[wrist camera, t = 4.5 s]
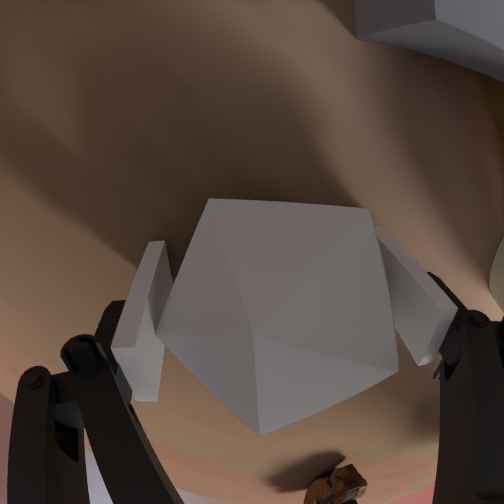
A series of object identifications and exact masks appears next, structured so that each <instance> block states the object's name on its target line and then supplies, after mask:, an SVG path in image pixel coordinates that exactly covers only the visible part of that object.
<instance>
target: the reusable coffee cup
mask: <svg viewBox="0 0 504 504" xmlns="http://www.w3.org/2000/svg"><path fill="white" fill-rule="evenodd" d="M489 288H490V293H491V295H492V297H493V298H494V299H495V301H496V302H497V304H498V305H499V307H500V308H501V310H502V311H503V312H504V237H503V239H502V241H501V243H500V245H499V247H498V250H497V252H496V255H495V257H494V261H493V264H492V267H491V272H490V277H489Z"/></svg>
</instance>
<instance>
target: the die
mask: <svg viewBox="0 0 504 504" xmlns="http://www.w3.org/2000/svg"><path fill="white" fill-rule="evenodd" d="M155 335H156V336H157V338H158V339H159V340H160V341H161V342H162V343H163V344H164V345H165V346H166V347H167V348H168V350H169V351H170V352H171V353H172V354H173V355H174V356H175V357H176V358H177V359H178V360H179V361H180V362H181V363H182V364H183V365H184V366H185V367H186V368H187V369H188V370H189V371H190V372H191V373H192V374H193V376H194V377H195V378H196V379H198V380H199V381H200V382H201V383H202V384H203V385H204V386H205V387H206V388H207V389H208V390H209V391H210V392H211V393H212V394H213V395H214V396H215V397H216V398H217V399H218V400H219V401H220V402H221V403H222V404H224V405H225V406H226V407H227V408H228V409H229V410H230V411H231V412H232V413H233V414H235V415H236V416H237V417H238V418H239V419H240V420H241V421H242V422H244V423H245V424H246V425H247V426H248V427H249V428H250V429H252V430H253V431H254V432H255V433H256V434H258V435H259V436H261V435H264V434H267V433H270V432H272V431H275V430H278V429H280V428H283V427H285V426H288V425H291V424H293V423H295V422H298V421H300V420H303V419H305V418H307V417H310V416H312V415H314V414H317V413H319V412H321V411H323V410H325V409H328V408H330V407H332V406H334V405H336V404H338V403H340V402H342V401H344V400H347V399H349V398H351V397H353V396H354V395H356V394H358V393H360V392H362V391H364V390H366V389H368V388H370V387H372V386H374V385H375V384H377V383H379V382H381V381H383V380H384V379H386V378H388V377H390V376H391V375H393V374H395V373H397V372H398V371H399V364H398V354H397V344H396V335H395V327H394V319H393V312H392V305H391V298H390V292H389V286H388V280H387V276H386V271H385V267H384V263H383V259H382V255H381V251H380V247H379V243H378V239H377V235H376V231H375V228H374V224H373V221H372V217H371V214H370V210H369V209H367V208H356V207H345V206H333V205H321V204H307V203H293V202H277V201H259V200H238V199H213V198H209V200H208V202H207V204H206V206H205V209H204V211H203V213H202V216H201V218H200V221H199V223H198V225H197V228H196V230H195V232H194V235H193V237H192V240H191V242H190V245H189V247H188V250H187V252H186V255H185V257H184V260H183V262H182V265H181V267H180V270H179V272H178V275H177V277H176V280H175V282H174V285H173V288H172V290H171V293H170V296H169V298H168V301H167V303H166V306H165V309H164V312H163V314H162V317H161V320H160V322H159V325H158V328H157V331H156V334H155Z"/></svg>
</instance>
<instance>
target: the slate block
mask: <svg viewBox="0 0 504 504" xmlns="http://www.w3.org/2000/svg"><path fill="white" fill-rule="evenodd" d="M354 13H355V33H356V39H361V40H367V41H372V42H378V43H383V44H387V45H392V46H397V47H401V48H405V49H409V50H413V51H417V52H420V53H424V54H428V55H431V56H434V57H438V58H441V59H444V60H447V61H450V62H453V63H456V64H459V65H462V66H465V67H467V68H470V69H473V70H475V71H478V72H480V73H483V74H485V75H488V76H490V77H493V78H495V79H497V80H500V81H502V82H504V0H354Z"/></svg>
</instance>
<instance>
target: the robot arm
mask: <svg viewBox="0 0 504 504" xmlns="http://www.w3.org/2000/svg"><path fill="white" fill-rule="evenodd" d="M374 228H375V231H376V235H377V239H378V243H379V247H380V251H381V255H382V259H383V263H384V267H385V271H386V276H387V280H388V286H389V292H390V298H391V305H392V312H393V319H394V327H395V329H396V331H397V332H398V334H399V335H400V337H401V339H402V340H403V342H404V344H405V345H406V347H407V349H408V350H409V352H410V354H411V355H412V357H413V359H414V360H415V362H416V364H417V365H418V367H419V366H422V365H426V364H429V363H432V362H434V360H435V358H436V356H437V354H438V352H440V354H441V355H442V357H443V358H442V360H441V362H440V364H439V366H438V368H437V369H436V371H435V373H434V375H433V379H435V378H436V377H437V375H438V373H439V372H440V377H439V380H440V436H439V452H438V463H437V473H436V481H435V489H434V495H433V502H432V504H504V316H503V318H502V320H501V321H490V319H489V318H488V317H487V316H486V315H485V314H484V313H482V312H480V311H477V310H468V309H467V308H466V307H465V306H464V305H463V304H462V302H461V301H460V300H459V299H458V298H457V297H456V296H455V295H454V293H453V292H451V290H450V289H449V288H448V287H447V286H445V284H444V283H443V281H442V280H441V279H440V278H439V277H437V276H435V275H434V274H432V273H431V272H425V270H424V269H423V268H422V267H421V266H420V265H419V264H418V263H417V262H416V261H415V260H414V259H413V258H412V257H411V256H410V255H409V254H408V253H407V252H406V251H405V250H404V249H403V248H402V247H401V246H400V245H399V244H398V243H397V242H396V241H395V240H394V239H393V238H392V237H391V236H390V235H389V234H388V233H387V232H386V231H385V230H384V229H383V228H382V227H381V226H374ZM172 288H173V281H172V276H171V271H170V266H169V261H168V255H167V250H166V244H165V240H163V241H151V242H149V243H148V245H147V248H146V250H145V253H144V255H143V257H142V260H141V263H140V265H139V268H138V270H137V273H136V275H135V278H134V281H133V283H132V286H131V289H130V291H129V294H128V297H127V300H118V301H112V302H111V303H110V304H109V305H108V306H107V307H106V309H105V310H104V313H103V315H102V317H101V320H100V322H99V325H98V328H97V330H96V333H95V335H94V336H92V335H89V334H82V335H77V336H75V337H73V338H71V339H69V340H68V341H67V342H66V343H65V344H64V346H63V347H62V349H61V355H60V356H61V358H62V360H63V361H64V363H65V365H66V366H67V368H68V370H69V371H67V372H63V373H58V374H54V375H51V374H50V372H49V371H48V369H47V368H45V367H43V366H35V367H31V368H29V369H28V370H26V371H25V372H24V373H23V375H22V376H21V377H20V380H19V383H18V388H17V393H16V399H15V405H14V411H13V418H12V426H11V434H10V444H9V458H8V477H7V480H8V481H7V502H8V503H7V504H90V500H89V493H88V484H87V474H86V464H85V448H84V428H85V429H86V433H87V436H88V439H89V442H90V445H91V448H92V451H93V454H94V457H95V459H96V462H97V465H98V468H99V471H100V473H101V476H102V478H103V481H104V483H105V486H106V488H107V490H108V493H109V495H110V497H111V500H112V502H113V504H184V502H183V500H182V499H181V497H180V496H179V494H178V492H177V491H176V489H175V487H174V486H173V484H172V482H171V481H170V479H169V477H168V475H167V474H166V472H165V470H164V468H163V467H162V465H161V463H160V461H159V459H158V457H157V456H156V454H155V452H154V450H153V448H152V446H151V444H150V442H149V440H148V438H147V436H146V434H145V432H144V430H143V428H142V426H141V424H140V421H139V419H138V417H137V415H136V413H135V410H134V408H133V406H132V405H131V403H130V401H131V396H132V393H133V395H134V397H135V399H136V401H148V402H158V394H159V386H160V378H161V371H162V363H163V356H164V349H165V345H164V344H163V343H162V342H161V341H160V340H159V339H158V338H157V336H156V335H155V334H156V331H157V328H158V325H159V322H160V320H161V317H162V314H163V312H164V309H165V306H166V303H167V301H168V298H169V296H170V293H171V290H172Z"/></svg>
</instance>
